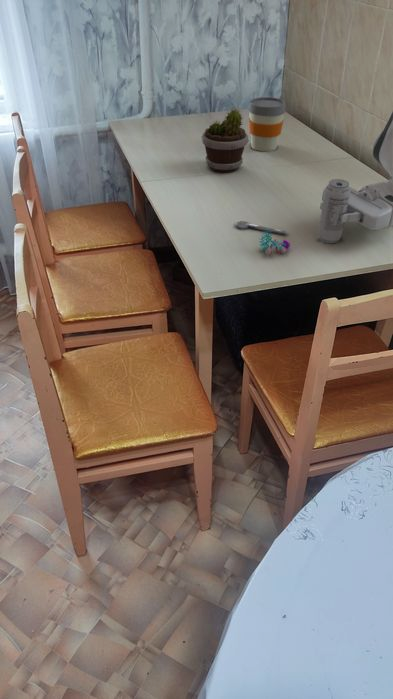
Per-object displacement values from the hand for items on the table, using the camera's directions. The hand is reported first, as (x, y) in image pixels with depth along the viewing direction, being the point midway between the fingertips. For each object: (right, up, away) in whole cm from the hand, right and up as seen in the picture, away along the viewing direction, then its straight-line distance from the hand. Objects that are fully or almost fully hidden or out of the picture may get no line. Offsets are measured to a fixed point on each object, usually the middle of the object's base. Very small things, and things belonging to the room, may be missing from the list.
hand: (331, 212), depth 136 cm
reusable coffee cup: (-10, +38, +58) cm, 70 cm away
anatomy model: (-15, -10, -1) cm, 18 cm away
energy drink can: (+1, -6, +5) cm, 8 cm away
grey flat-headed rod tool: (-17, -2, +9) cm, 19 cm away
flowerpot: (-25, +26, +43) cm, 56 cm away
